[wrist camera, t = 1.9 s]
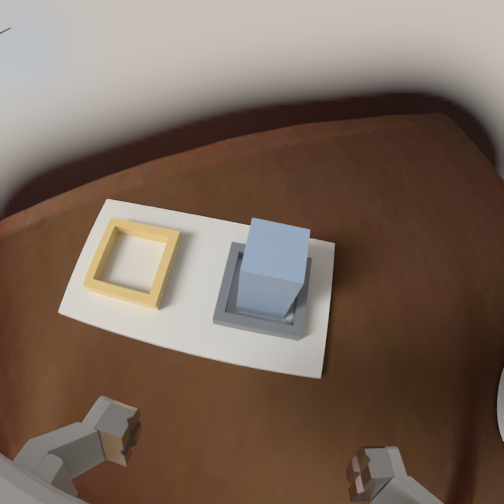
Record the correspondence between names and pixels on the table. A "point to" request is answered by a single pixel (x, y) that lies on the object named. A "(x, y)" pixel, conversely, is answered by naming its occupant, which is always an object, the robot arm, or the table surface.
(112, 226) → the white board with frames
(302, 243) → the plug
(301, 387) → the table surface
